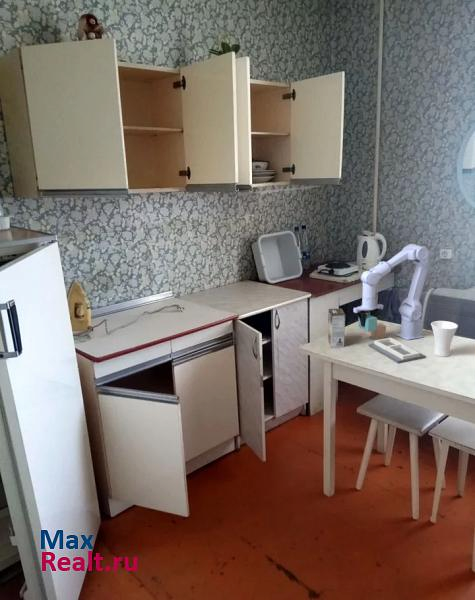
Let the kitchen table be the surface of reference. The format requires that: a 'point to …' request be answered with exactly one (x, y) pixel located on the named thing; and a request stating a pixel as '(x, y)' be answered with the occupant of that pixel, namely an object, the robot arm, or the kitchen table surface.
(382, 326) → the terracotta block
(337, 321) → the coffee box
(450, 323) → the cup
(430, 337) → the kitchen table surface
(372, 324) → the teal bar
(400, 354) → the shape board
